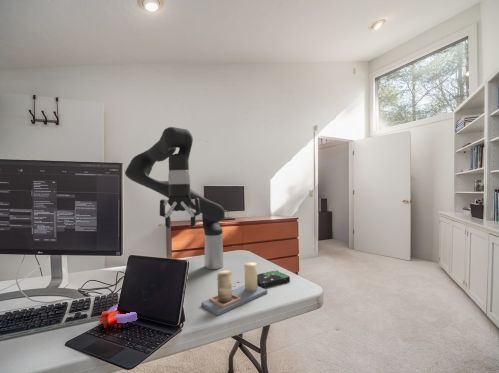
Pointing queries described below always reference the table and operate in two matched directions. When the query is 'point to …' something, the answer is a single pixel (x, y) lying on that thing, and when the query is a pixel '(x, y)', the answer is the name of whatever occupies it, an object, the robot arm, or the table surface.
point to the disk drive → (271, 279)
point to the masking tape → (124, 316)
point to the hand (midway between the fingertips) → (180, 227)
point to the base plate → (238, 292)
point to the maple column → (224, 286)
